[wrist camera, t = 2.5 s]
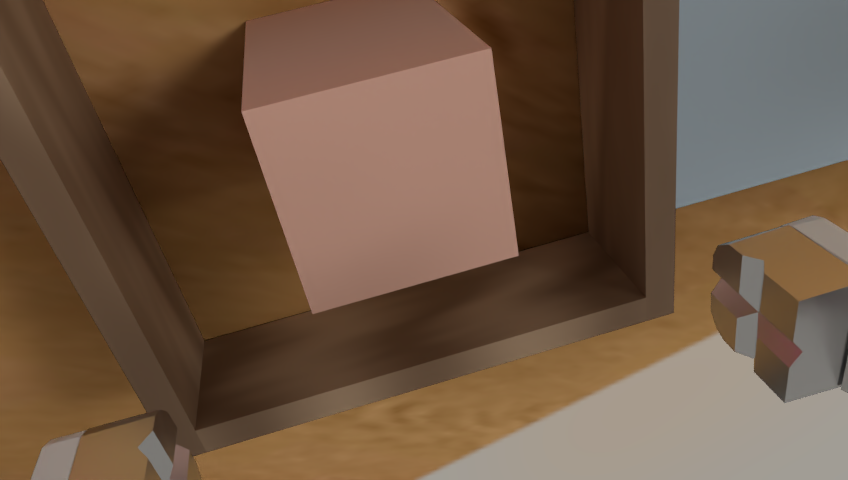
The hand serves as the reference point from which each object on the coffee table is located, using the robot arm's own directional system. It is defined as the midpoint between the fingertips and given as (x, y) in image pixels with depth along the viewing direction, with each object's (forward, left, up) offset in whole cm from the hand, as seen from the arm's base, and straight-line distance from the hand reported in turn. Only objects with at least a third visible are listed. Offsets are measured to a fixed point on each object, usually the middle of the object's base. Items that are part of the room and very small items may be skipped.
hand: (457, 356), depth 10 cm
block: (0, 0, -13) cm, 13 cm away
